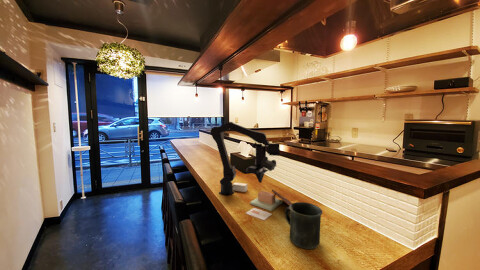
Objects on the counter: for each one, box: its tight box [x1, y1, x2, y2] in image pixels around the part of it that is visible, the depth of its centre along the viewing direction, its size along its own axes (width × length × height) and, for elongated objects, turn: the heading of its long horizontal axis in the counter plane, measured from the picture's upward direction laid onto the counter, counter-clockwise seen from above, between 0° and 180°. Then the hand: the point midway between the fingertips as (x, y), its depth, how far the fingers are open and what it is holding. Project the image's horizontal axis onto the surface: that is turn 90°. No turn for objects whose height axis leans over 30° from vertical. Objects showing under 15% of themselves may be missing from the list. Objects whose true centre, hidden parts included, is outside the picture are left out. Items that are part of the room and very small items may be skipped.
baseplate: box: [249, 197, 283, 212], centre depth 102 cm, size 12×12×1 cm
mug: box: [284, 201, 323, 250], centre depth 72 cm, size 11×15×12 cm
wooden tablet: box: [271, 189, 293, 207], centre depth 93 cm, size 26×2×10 cm
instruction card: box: [245, 207, 273, 221], centre depth 91 cm, size 10×7×1 cm
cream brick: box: [232, 182, 248, 193], centre depth 120 cm, size 8×4×4 cm, turn 70°
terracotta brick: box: [257, 190, 277, 205], centre depth 102 cm, size 8×4×4 cm, turn 53°
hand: (260, 182), depth 111 cm, fingers closed
